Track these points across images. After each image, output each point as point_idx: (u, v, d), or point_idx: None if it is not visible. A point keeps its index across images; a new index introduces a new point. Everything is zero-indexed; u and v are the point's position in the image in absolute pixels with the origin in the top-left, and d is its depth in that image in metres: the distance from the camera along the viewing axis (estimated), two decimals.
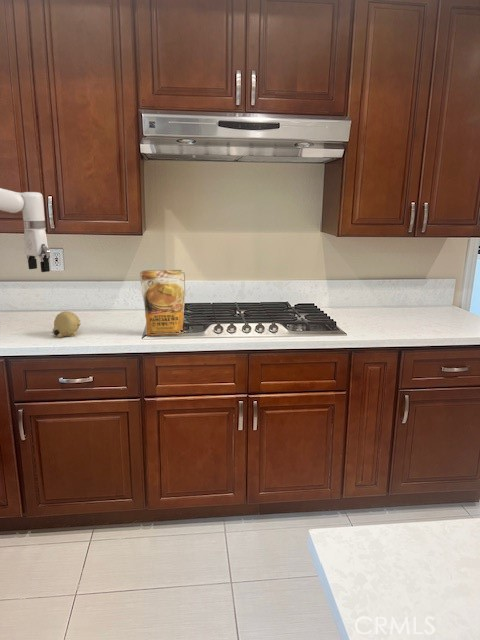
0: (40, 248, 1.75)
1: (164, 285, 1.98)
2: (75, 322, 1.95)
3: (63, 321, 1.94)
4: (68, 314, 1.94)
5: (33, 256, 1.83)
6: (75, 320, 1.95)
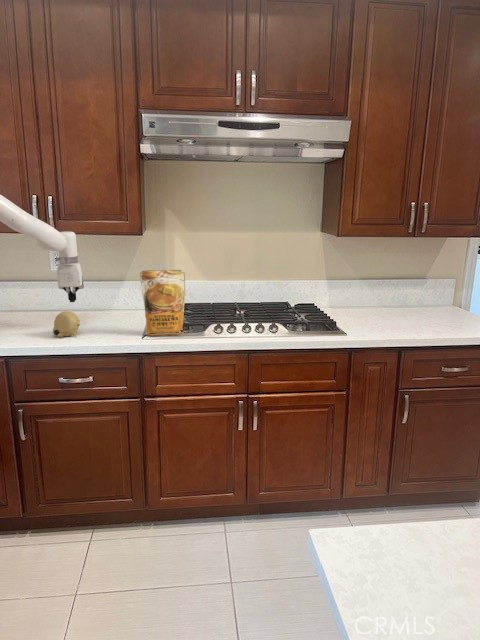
0: None
1: (164, 285, 1.98)
2: (75, 322, 1.95)
3: (63, 321, 1.94)
4: (68, 314, 1.94)
5: (69, 289, 2.06)
6: (75, 320, 1.95)
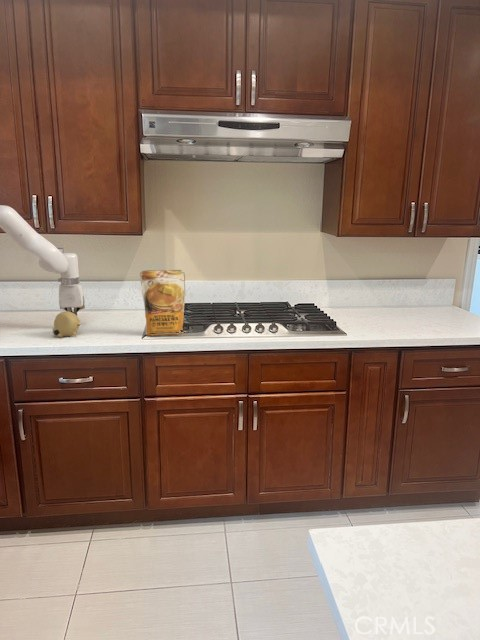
0: None
1: (164, 285, 1.98)
2: (75, 322, 1.95)
3: (63, 321, 1.94)
4: (68, 314, 1.94)
5: (71, 309, 2.08)
6: (75, 320, 1.95)
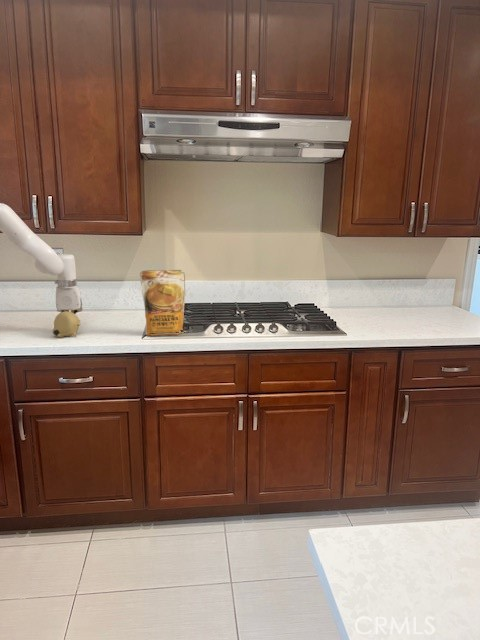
0: None
1: (164, 285, 1.98)
2: (75, 322, 1.95)
3: (63, 321, 1.93)
4: (68, 314, 1.94)
5: None
6: (75, 320, 1.95)
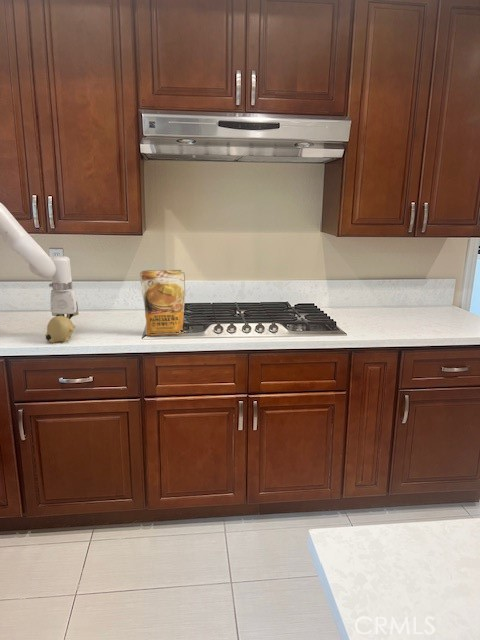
0: (74, 311, 1.94)
1: (164, 285, 1.98)
2: (67, 328, 1.87)
3: (55, 326, 1.86)
4: (60, 319, 1.87)
5: None
6: (67, 326, 1.87)
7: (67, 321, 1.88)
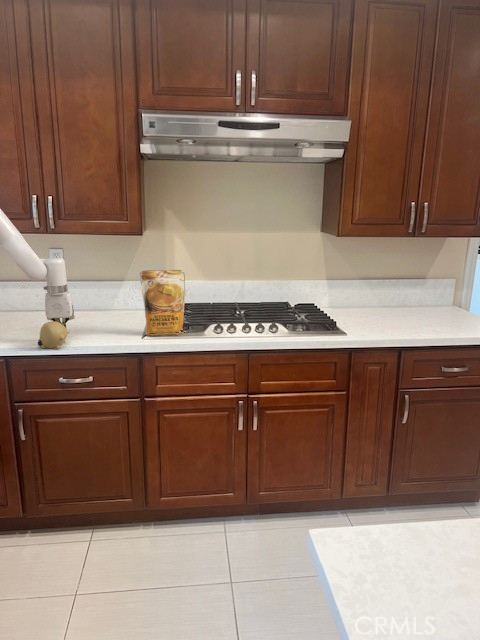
0: None
1: (164, 285, 1.98)
2: (57, 336, 1.79)
3: (45, 333, 1.79)
4: (51, 326, 1.79)
5: (59, 320, 1.89)
6: (57, 334, 1.79)
7: (58, 329, 1.79)
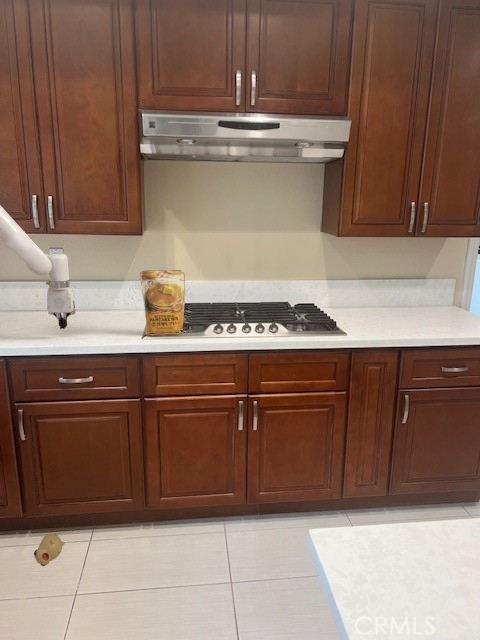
0: None
1: (164, 285, 1.98)
2: None
3: None
4: None
5: (60, 315, 1.92)
6: None
7: None
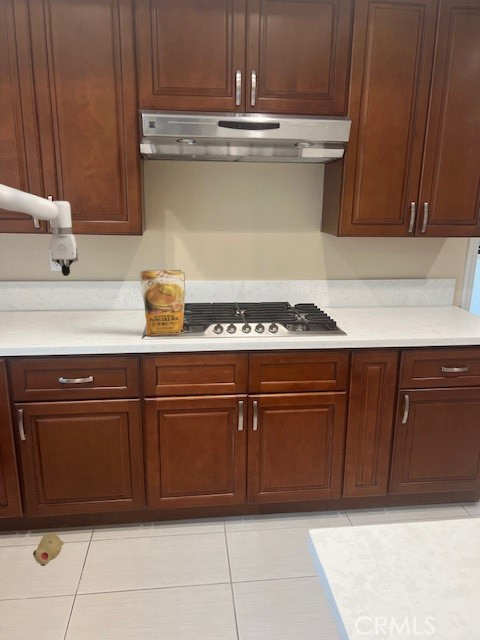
0: None
1: (164, 285, 1.98)
2: None
3: None
4: None
5: (63, 262, 1.97)
6: None
7: None
